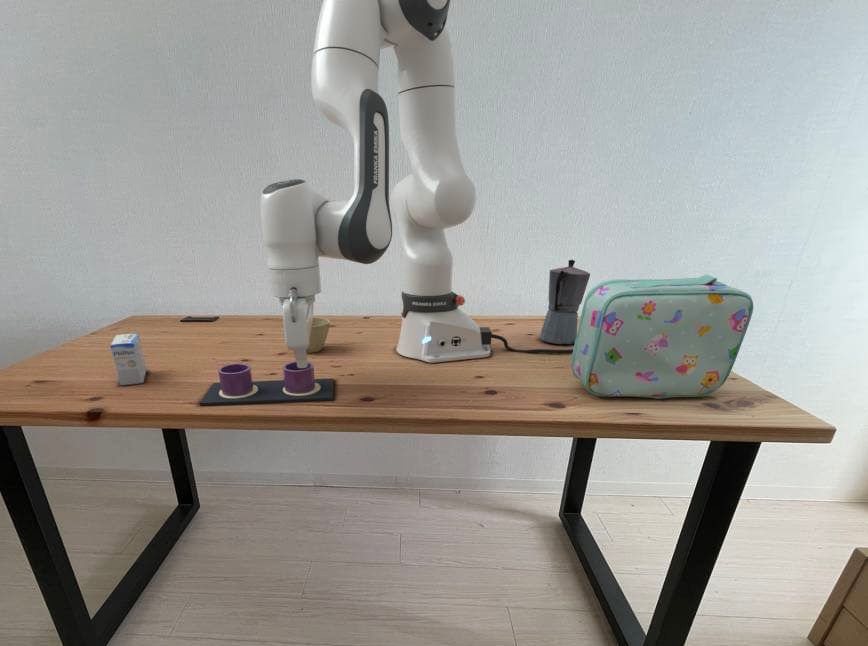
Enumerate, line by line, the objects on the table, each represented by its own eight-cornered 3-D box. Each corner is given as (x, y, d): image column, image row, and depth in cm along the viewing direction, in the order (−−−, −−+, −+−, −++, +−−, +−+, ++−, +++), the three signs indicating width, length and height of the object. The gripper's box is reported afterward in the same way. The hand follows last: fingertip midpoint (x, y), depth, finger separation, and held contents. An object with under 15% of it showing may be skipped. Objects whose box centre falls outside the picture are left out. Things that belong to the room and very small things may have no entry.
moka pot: (583, 336, 120) (597, 258, 112) (571, 352, 108) (585, 265, 100) (546, 332, 125) (557, 256, 117) (530, 346, 113) (541, 262, 105)
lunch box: (696, 380, 91) (729, 269, 82) (733, 400, 81) (774, 278, 73) (563, 381, 91) (581, 271, 82) (584, 402, 82) (607, 280, 73)
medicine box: (124, 373, 98) (115, 334, 95) (147, 371, 100) (138, 332, 96) (120, 386, 92) (109, 344, 88) (144, 383, 93) (134, 342, 90)
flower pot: (313, 358, 106) (311, 328, 103) (281, 352, 111) (278, 323, 108) (339, 347, 114) (337, 319, 111) (308, 342, 119) (306, 315, 116)
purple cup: (316, 382, 91) (314, 360, 89) (314, 393, 85) (312, 370, 84) (286, 383, 90) (284, 361, 88) (283, 394, 85) (280, 371, 83)
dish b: (255, 384, 90) (252, 362, 88) (250, 395, 85) (247, 373, 83) (226, 385, 89) (222, 363, 88) (218, 397, 84) (214, 374, 82)
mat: (333, 380, 93) (333, 377, 93) (332, 400, 84) (332, 396, 84) (214, 385, 92) (213, 382, 91) (199, 405, 82) (199, 402, 82)
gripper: (311, 293, 70) (319, 376, 76) (315, 273, 89) (322, 341, 95) (269, 296, 70) (281, 379, 76) (282, 275, 88) (291, 343, 94)
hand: (304, 358), depth 85 cm, fingers open, 8 cm apart
